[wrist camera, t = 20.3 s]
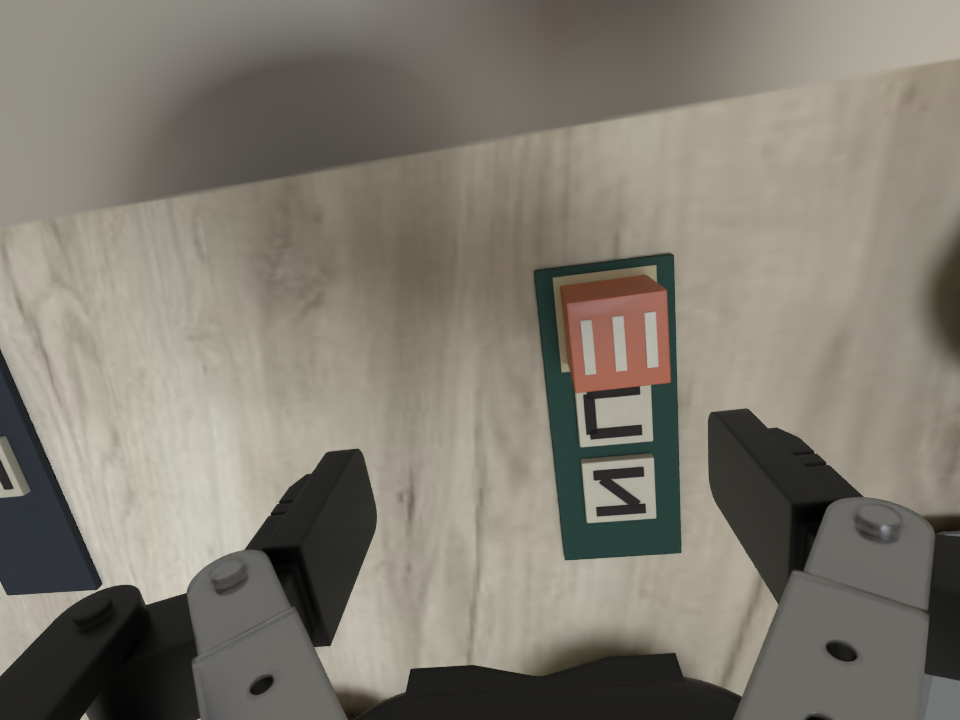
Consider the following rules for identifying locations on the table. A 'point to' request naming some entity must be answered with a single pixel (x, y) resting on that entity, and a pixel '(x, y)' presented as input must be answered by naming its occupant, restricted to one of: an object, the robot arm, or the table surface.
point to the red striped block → (616, 333)
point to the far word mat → (34, 511)
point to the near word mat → (612, 434)
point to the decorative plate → (940, 690)
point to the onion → (350, 719)
